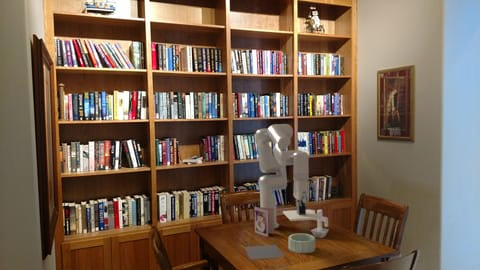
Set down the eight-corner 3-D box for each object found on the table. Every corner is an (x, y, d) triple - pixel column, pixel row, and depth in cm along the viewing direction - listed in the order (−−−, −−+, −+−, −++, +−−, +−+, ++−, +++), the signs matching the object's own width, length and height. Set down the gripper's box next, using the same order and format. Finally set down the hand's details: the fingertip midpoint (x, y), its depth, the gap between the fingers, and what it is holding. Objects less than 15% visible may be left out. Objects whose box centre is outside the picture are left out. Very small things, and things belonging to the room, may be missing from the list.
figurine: (324, 239, 206) (324, 212, 205) (309, 236, 212) (309, 210, 211) (330, 236, 212) (330, 209, 211) (315, 233, 218) (315, 207, 217)
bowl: (285, 245, 198) (285, 234, 198) (309, 243, 200) (309, 232, 200) (293, 254, 185) (293, 242, 185) (318, 252, 187) (318, 241, 187)
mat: (244, 247, 196) (244, 247, 196) (276, 245, 198) (276, 244, 198) (249, 260, 179) (249, 259, 179) (284, 257, 182) (284, 256, 182)
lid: (283, 212, 198) (282, 199, 198) (310, 211, 200) (310, 198, 200) (291, 220, 183) (290, 206, 183) (320, 219, 185) (320, 205, 185)
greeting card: (253, 232, 221) (253, 207, 220) (263, 230, 225) (263, 205, 224) (266, 237, 212) (266, 211, 211) (276, 234, 216) (276, 208, 215)
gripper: (289, 174, 198) (289, 208, 199) (298, 179, 182) (298, 217, 183) (303, 173, 199) (303, 208, 200) (313, 179, 183) (313, 216, 184)
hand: (301, 212), depth 192 cm, fingers closed on lid, 3 cm apart
